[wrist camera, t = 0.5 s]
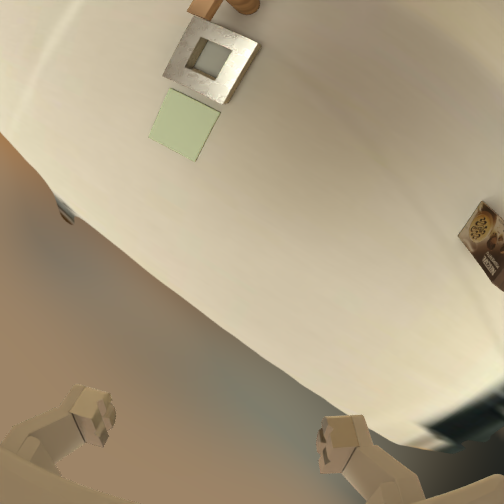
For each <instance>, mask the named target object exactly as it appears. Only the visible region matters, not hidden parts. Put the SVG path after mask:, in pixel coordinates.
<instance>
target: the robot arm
mask: <svg viewBox="0 0 504 504" xmlns="http://www.w3.org/2000/svg"><path fill="white" fill-rule="evenodd" d="M111 401H112V398H111V394H110V393H107V392H104V391H100V390H97V389H94V388H90V387H87V386H83V385H80V384H75V385H74V386H73V387H72V388H71V390H70V392H69V393H68V394H67V396H66V397H65V399H64V400H63V402H62V403H61V405H60V406H59V407H58V408H53V409H51V410H49V411H46V412H44V413H42V414H40V415H37V416H35V417H33V418H31V419H28V420H26V421H24V422H21V423H19V424H17V425H14V426H13V427H12V428H11V430H10V431H9V433H8V434H7V435H6V437H5V438H4V440H3V441H2V442H1V444H0V504H141V503H137V502H133V501H130V500H126V499H123V498H119V497H116V496H113V495H109V494H107V493H103V492H100V491H97V490H94V489H92V488H89V487H86V486H84V485H81V484H78V483H76V482H73V481H71V480H68V479H66V478H63V477H61V472H60V471H59V469H58V468H57V467H56V465H55V463H57V462H58V461H59V460H61V459H63V458H64V457H65V456H67V455H69V454H70V453H72V452H73V451H74V450H76V449H77V448H79V447H80V446H82V445H83V444H84V443H85V442H86V443H89V444H92V445H96V446H99V447H104V445H105V443H106V441H107V439H108V437H109V435H108V432H107V431H108V430H110V429H111V428H113V426H114V423H115V419H116V411H115V407H114V406H113V405H112V404H111ZM316 446H317V452H318V453H319V454H320V455H321V456H320V459H319V467H320V473H321V474H327V473H328V474H329V473H342V475H343V476H344V477H345V478H346V479H347V480H348V481H349V482H350V483H351V485H352V486H353V487H354V488H355V489H356V490H357V491H358V492H359V493H360V494H361V495H362V496H363V497H364V498H365V500H366V501H367V502H366V503H365V504H504V476H502V475H500V474H495V475H491V476H489V477H486V478H484V479H482V480H480V481H477V482H475V483H472V484H470V485H467V486H464V487H462V488H459V489H456V490H454V491H451V492H448V493H445V494H442V495H439V496H435V497H432V498H429V499H425V496H424V493H423V491H422V487H421V485H420V482H419V479H418V477H417V475H416V474H414V473H413V472H412V471H410V470H409V469H408V468H406V467H405V466H404V465H402V464H401V463H400V462H398V461H397V460H396V459H394V458H393V457H392V456H390V455H389V454H388V453H387V452H385V451H384V450H383V449H381V448H380V447H379V446H378V445H373V442H372V439H371V436H370V433H369V430H368V427H367V424H366V421H365V418H364V416H363V415H350V416H349V415H347V416H328V417H327V416H325V417H324V418H323V420H322V428H321V429H320V430H319V431H318V434H317V440H316Z"/></svg>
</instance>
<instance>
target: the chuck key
mask: <svg viewBox="0 0 504 504" xmlns="http://www.w3.org/2000/svg"><path fill="white" fill-rule="evenodd" d="M226 1H227V2H228V3H229V4H231V5H232V6H233V7H234V8H235V9H236V10H237V11H238V12H239V13H241V14H245V15H248V14H252V13H254V12H256V11H257V10H258V9H259V6H260V1H259V0H226ZM222 2H223V0H193V1H192V3H191V5H190V7H189V8H188V10H187V12H189V13H191V14H193V15H196V16H198V17H201V18H204V19H206V20H209V21H211V19H212V18H213V16H214V14H215V13H216V11H217V10H218V8H219V6H220V5H221V3H222Z"/></svg>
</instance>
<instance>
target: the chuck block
mask: <svg viewBox="0 0 504 504" xmlns="http://www.w3.org/2000/svg"><path fill="white" fill-rule="evenodd" d="M208 40H210V41H212V42H214V43H217V44H219V45H221V46H224V47H226V48H228V49H230V50H232V52H231V54H230V55H229V57H228V59H227V61H226V62H225V64H224V66H223V68H222V70H221V71H220V73H219V75H218V77H217V79H216V78H214V77H212V76H210V75H208V74H206V73H204V72H202V71H199V70H197V69H195V68H193V67H194V65H195V63H196V61H197V59H198V57H199V56H200V54H201V52H202V50H203V48H204V47H205V45H206V43H207V41H208ZM261 47H262V46H261V45H260V44H258V43H257V42H255V41H252V40H250V39H248V38H246V37H244V36H242V35H239V34H237V33H235V32H233V31H230V30H228V29H226V28H223V27H221V26H219V25H216V24H214V23H211V22H209V21H206V20H203V19H201V18H198V17H195V16H194V17H193V18H192V20H191V22H190V24H189V25H188V27H187V29H186V31H185V33H184V34H183V36H182V38H181V40H180V42H179V44H178V46H177V48H176V50H175V51H174V53H173V55H172V57H171V59H170V61H169V63H168V66H167V68H166V70H165V72H164V74H163V76H164V77H166V78H168V79H170V80H173V81H175V82H177V83H179V84H181V85H183V86H186V87H188V88H190V89H192V90H194V91H196V92H198V93H200V94H202V95H204V96H206V97H208V98H210V99H212V100H214V101H216V102H218V103H220V104H222V105H223V104H226V103H229V101H230V99H231V97H232V96H233V94H234V92H235V90H236V89H237V87H238V85H239V83H240V82H241V80H242V78H243V76H244V75H245V73H246V71H247V70H248V68H249V66H250V65H251V63H252V61H253V60H254V58H255V56H256V55H257V53H258V51H259V50H260V48H261Z"/></svg>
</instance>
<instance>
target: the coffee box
mask: <svg viewBox="0 0 504 504" xmlns="http://www.w3.org/2000/svg"><path fill="white" fill-rule="evenodd" d="M458 237H459V238H460V239H461V241H462V242H463V243H464V245H465V246H466V247H467V248H468V250H469V251H470V252H471V254H472V255H473V256H474V258H475V259H476V261H477V262H478V263H479V265H480V266H481V267H482V269H483V270H484V272H485V273H486V275H487V276H488V278H489V279H490V281H491V282H492V283H493V284H494V285H495V286H496V287H498V288H499V289H500V290H502V291H503V292H504V220H503V219H502V218H501V217H500V216H499V215H498V214H496V213H495V212H494V211H493V210H492V209H491V208H490V207H489V206H488V205H487V204H485V203H484V202H483V201H481V203H480V204H479V206H478V207H477V209H476V210H475V212H474V213H473V215H472V216H471V218H470V219H469V221H468V222H467V224H466V225H465V227H464V228H463V230H462V231H461V232H460V234H459V235H458Z"/></svg>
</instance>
